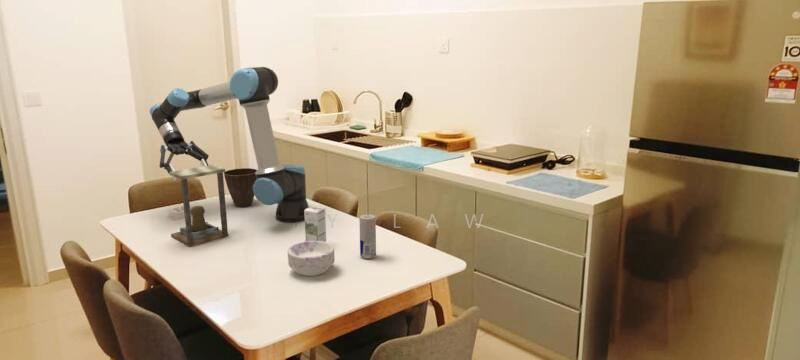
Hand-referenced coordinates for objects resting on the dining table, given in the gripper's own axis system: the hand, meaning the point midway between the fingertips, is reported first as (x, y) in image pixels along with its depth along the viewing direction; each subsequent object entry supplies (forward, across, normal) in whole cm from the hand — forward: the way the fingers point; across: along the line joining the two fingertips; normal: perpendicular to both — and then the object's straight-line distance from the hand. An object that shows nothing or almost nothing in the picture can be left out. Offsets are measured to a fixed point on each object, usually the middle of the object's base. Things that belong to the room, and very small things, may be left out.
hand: (192, 176), depth 224 cm
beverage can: (+70, -25, +38) cm, 84 cm away
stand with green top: (+25, +6, -5) cm, 26 cm away
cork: (+24, +6, -5) cm, 25 cm away
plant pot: (+6, -28, -24) cm, 38 cm away
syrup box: (+54, -19, +23) cm, 62 cm away
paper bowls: (+67, -4, +35) cm, 75 cm away
